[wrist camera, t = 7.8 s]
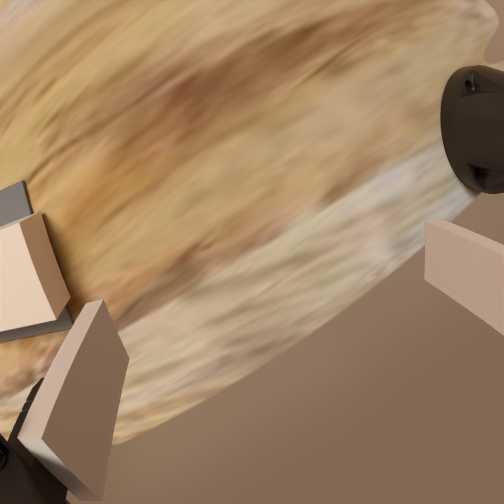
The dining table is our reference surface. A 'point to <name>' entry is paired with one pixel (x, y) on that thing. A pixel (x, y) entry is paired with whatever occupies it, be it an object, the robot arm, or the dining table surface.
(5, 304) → the tall block
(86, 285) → the dining table surface
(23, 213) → the mat
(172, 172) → the dining table surface
